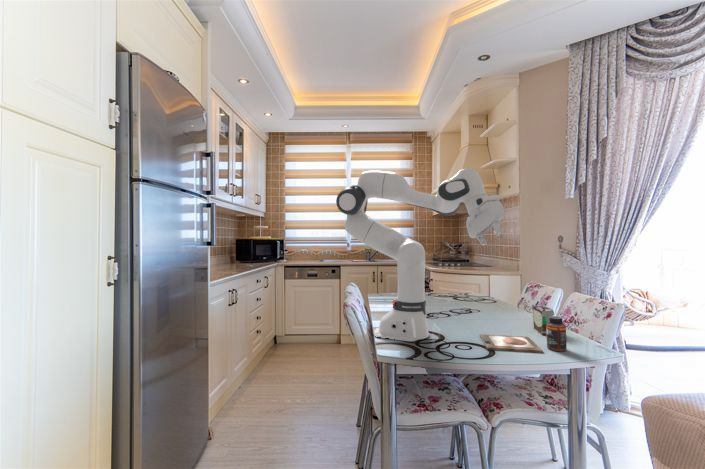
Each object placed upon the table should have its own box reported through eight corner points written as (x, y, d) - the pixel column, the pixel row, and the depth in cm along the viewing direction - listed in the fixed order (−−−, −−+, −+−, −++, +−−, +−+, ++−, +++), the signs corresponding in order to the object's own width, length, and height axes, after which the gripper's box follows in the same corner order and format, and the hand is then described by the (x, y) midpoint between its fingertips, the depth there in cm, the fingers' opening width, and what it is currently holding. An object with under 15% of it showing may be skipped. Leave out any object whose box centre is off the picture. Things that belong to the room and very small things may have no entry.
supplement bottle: (568, 349, 115) (567, 317, 115) (564, 353, 110) (564, 320, 110) (548, 345, 119) (548, 314, 119) (544, 349, 114) (544, 317, 114)
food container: (560, 337, 128) (559, 311, 129) (543, 336, 130) (542, 311, 130) (547, 328, 140) (547, 305, 141) (532, 328, 142) (532, 305, 142)
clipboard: (487, 349, 115) (487, 345, 115) (479, 336, 130) (479, 332, 130) (543, 352, 111) (543, 348, 111) (528, 338, 126) (528, 335, 126)
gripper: (459, 219, 132) (469, 250, 127) (485, 194, 114) (499, 230, 109) (472, 217, 134) (484, 248, 129) (500, 192, 115) (515, 228, 110)
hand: (491, 240), depth 118 cm, fingers open, 8 cm apart
